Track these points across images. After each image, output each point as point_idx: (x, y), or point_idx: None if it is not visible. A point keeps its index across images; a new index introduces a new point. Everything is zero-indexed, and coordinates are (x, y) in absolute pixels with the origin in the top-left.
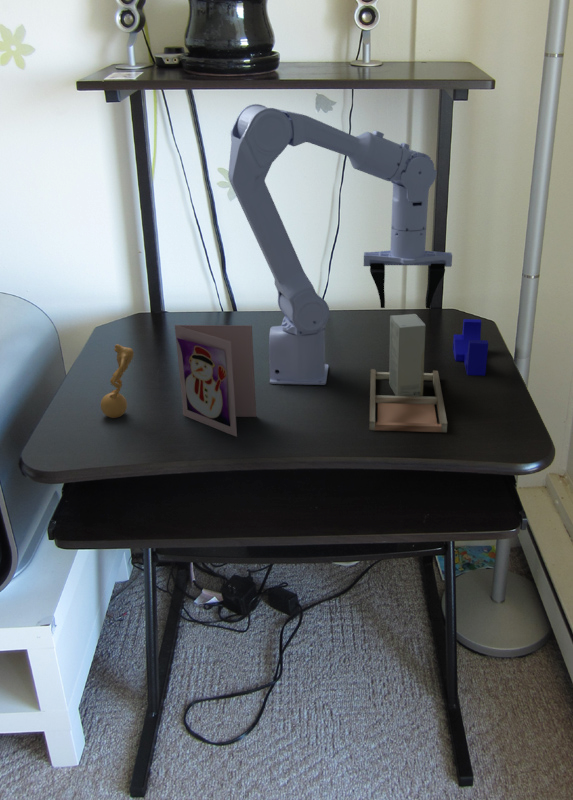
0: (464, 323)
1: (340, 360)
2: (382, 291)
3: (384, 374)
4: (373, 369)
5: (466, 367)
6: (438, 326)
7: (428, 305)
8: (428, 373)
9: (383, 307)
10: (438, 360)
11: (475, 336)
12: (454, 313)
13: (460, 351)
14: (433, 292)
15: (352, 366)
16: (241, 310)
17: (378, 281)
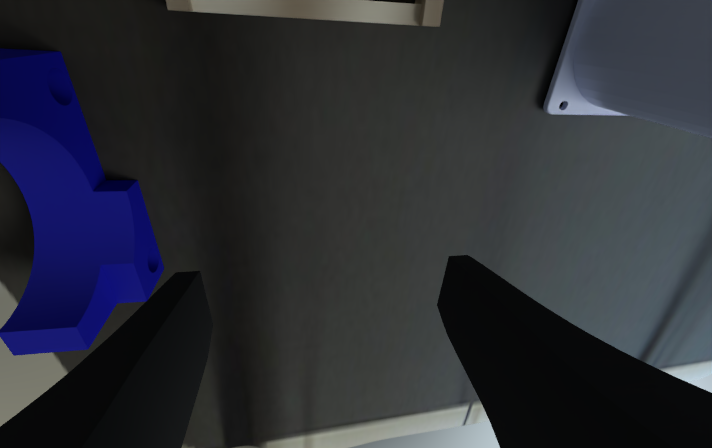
0: (77, 321)
1: (491, 166)
2: (534, 320)
3: (387, 2)
4: (430, 24)
5: (69, 102)
6: (223, 381)
7: (177, 282)
8: (211, 8)
9: (457, 257)
10: (197, 184)
11: (49, 280)
12: (193, 438)
13: (112, 212)
14: (88, 360)
15: (468, 123)
16: None
17: (654, 387)
